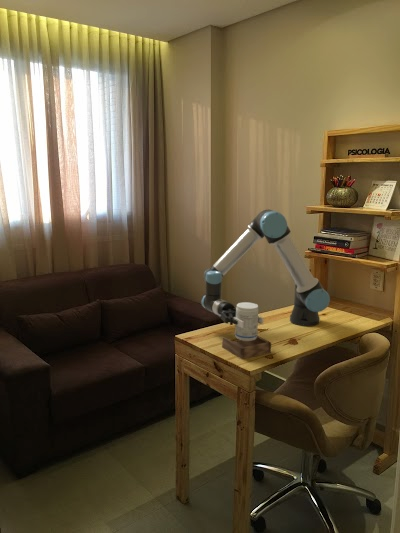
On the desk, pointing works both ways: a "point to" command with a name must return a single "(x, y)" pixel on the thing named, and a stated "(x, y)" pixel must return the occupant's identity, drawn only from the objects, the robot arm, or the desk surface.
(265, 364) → the desk surface
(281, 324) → the desk surface
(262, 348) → the tray
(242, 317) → the supplement tub
